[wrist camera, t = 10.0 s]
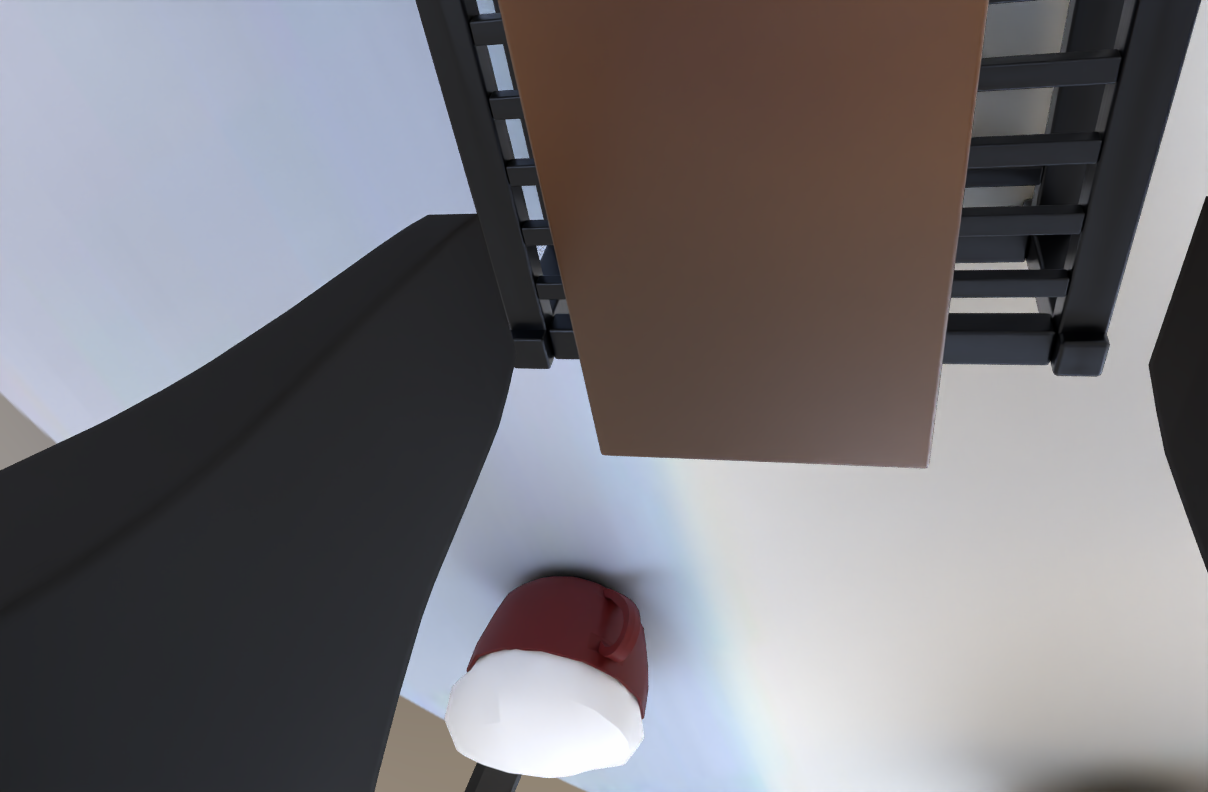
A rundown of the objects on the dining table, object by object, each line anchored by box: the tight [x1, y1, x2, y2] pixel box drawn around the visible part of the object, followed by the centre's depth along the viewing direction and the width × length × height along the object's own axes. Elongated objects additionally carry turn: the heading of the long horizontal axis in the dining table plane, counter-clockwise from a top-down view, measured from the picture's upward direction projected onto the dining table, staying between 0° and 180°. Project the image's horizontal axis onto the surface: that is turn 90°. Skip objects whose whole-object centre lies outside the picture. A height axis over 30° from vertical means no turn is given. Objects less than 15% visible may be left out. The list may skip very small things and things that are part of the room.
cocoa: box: [444, 576, 648, 792], centre depth 29 cm, size 10×6×12 cm, turn 124°
